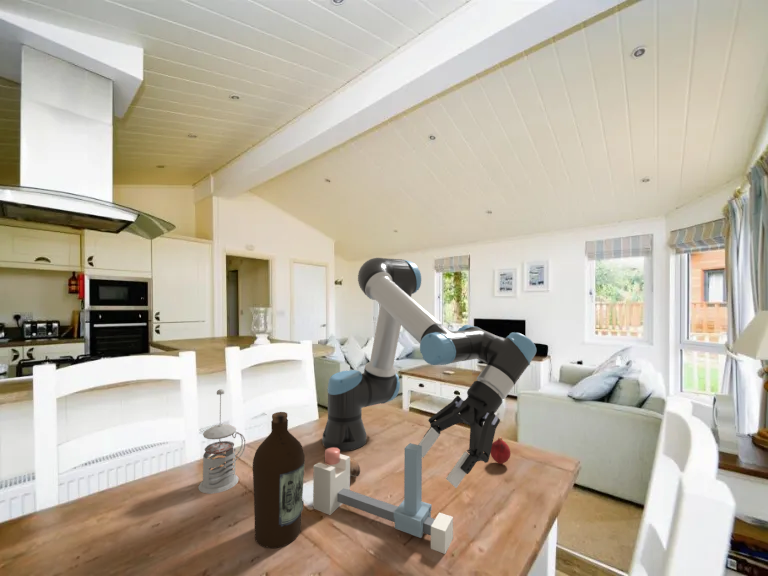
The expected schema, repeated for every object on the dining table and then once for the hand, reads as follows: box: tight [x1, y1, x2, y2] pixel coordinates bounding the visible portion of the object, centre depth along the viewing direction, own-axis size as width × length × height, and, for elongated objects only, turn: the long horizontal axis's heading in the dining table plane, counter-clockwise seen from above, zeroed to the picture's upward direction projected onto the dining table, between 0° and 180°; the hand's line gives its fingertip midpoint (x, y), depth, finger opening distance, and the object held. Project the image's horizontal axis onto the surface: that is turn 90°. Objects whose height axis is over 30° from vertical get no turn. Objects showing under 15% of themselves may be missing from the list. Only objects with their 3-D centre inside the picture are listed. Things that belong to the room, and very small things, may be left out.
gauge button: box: [324, 448, 341, 465], centre depth 83 cm, size 4×4×2 cm
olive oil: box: [252, 411, 306, 549], centre depth 73 cm, size 11×11×25 cm
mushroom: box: [350, 457, 361, 478], centre depth 94 cm, size 8×8×6 cm
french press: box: [197, 389, 246, 495], centre depth 92 cm, size 10×12×25 cm
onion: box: [490, 436, 511, 465], centre depth 103 cm, size 6×6×8 cm
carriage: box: [394, 442, 433, 539], centre depth 73 cm, size 6×6×17 cm
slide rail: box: [312, 453, 454, 555], centre depth 77 cm, size 32×8×10 cm, turn 61°
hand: (433, 467), depth 73 cm, fingers open, 13 cm apart
